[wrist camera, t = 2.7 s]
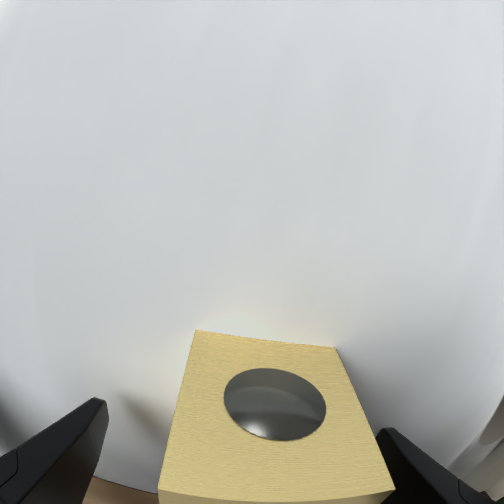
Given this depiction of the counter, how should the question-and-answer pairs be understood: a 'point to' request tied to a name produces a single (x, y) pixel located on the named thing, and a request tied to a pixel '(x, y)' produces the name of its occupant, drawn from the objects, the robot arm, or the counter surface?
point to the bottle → (501, 501)
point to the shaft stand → (116, 494)
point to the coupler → (269, 428)
